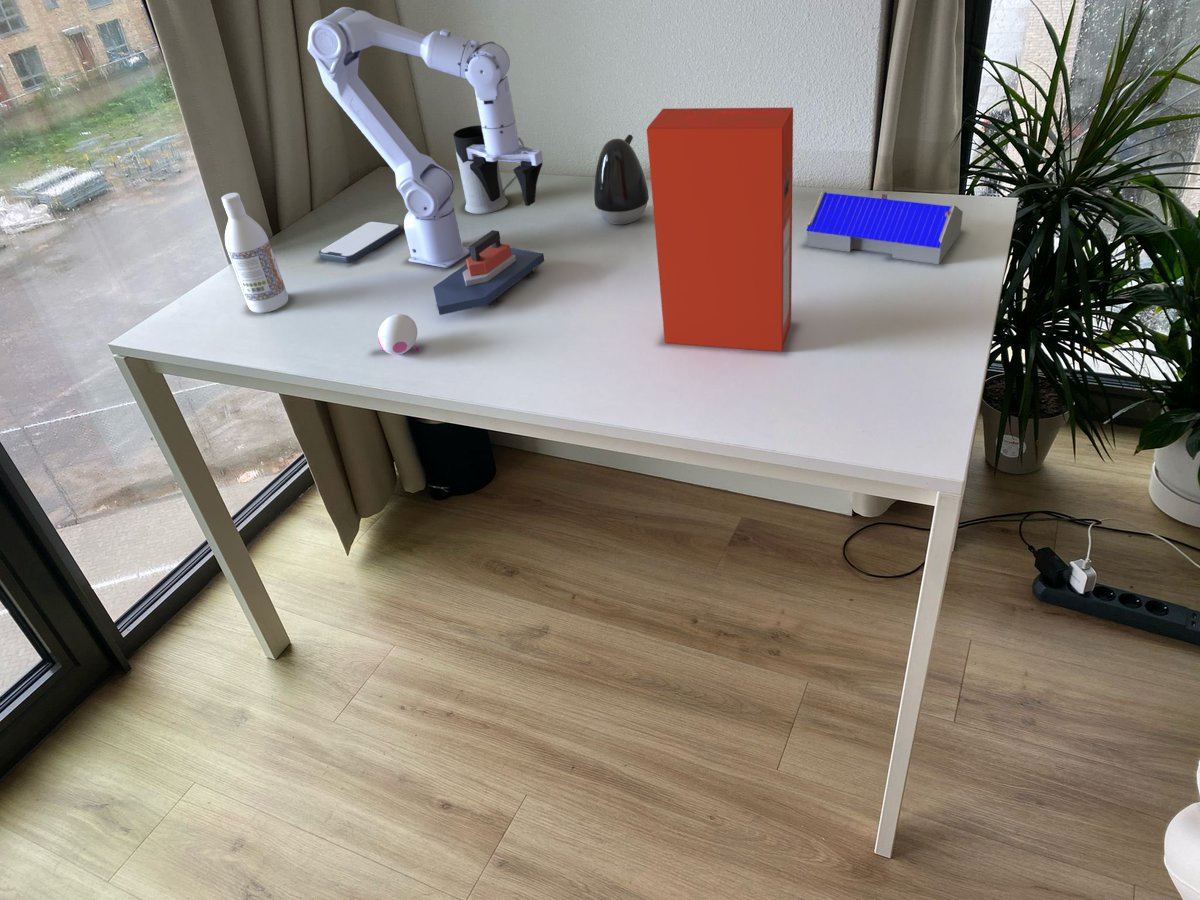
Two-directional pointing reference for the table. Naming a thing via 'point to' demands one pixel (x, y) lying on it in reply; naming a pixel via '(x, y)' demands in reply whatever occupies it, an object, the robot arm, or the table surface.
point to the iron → (487, 259)
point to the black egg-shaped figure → (620, 183)
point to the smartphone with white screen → (360, 242)
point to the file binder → (723, 224)
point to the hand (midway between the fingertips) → (512, 201)
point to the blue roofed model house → (884, 226)
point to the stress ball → (397, 334)
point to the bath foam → (252, 259)
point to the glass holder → (471, 184)
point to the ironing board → (483, 284)
